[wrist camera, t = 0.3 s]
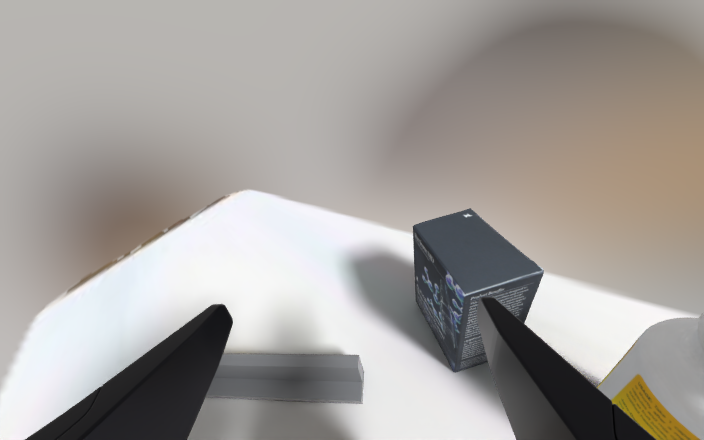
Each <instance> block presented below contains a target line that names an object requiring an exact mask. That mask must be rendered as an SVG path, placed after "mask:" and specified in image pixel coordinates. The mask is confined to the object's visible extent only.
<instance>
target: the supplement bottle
mask: <svg viewBox="0 0 704 440" xmlns="http://www.w3.org/2000/svg"><path fill="white" fill-rule="evenodd" d="M597 388H598V389H599V390H600V391H601V392H602V393H603V394H604V395H606V396H607V397H608V398H609V399H610V400H611V401H612V404H616V405H617V406H618V407H619V408H621V409H622V410H623V411H624V412H625V413H626V414H627V415H629V416H630V417H631V418H632V419H633V420H634V421H635V422H637V423H638V424H639V425H640V426H641V427H643V428H644V429H645V430H646V431H647V432H648V433H650V434H651V435H652V436H653V437H654V438H655V439H657V440H704V313H703V314H702V315H701V316H700V317H699V318H676V319H670V320H666V321H662V322H659V323H657V324H655V325H653V326H651V327H649V328H648V329H647V330H646V331H645V332H644V333H643V334H642V335H641V336H640V337H639V338H638V339H637V341H636V342H635V343H634V344H633V346H632V347H631V348H630V349H629V350H628V352H627V353H626V354H625V355H624V356H623V358H622V359H621V360H620V361H619V362H618V363H617V365H616V366H615V367H614V368H613V369H612V370H611V372H610V373H609V374H608V375H607V376H606V377H605V378H604V380H603V381H602V382H601V383H600V384H599V385H598V387H597Z"/></svg>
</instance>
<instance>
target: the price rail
mask: <svg viewBox="0 0 704 440" xmlns="http://www.w3.org/2000/svg"><path fill="white" fill-rule="evenodd" d="M363 379H364V371H363V368H362V364H361V361H360V357H359V355H306V354H223V355H222V358H221V361H220V364H219V366H218V369H217V371H216V374H215V376H214V378H213V381H212V383H211V385H210V388H209V390H208V392H207V394H206V397H215V398H239V399H262V400H286V401H309V402H333V403H356V404H362V399H363Z"/></svg>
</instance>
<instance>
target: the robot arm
mask: <svg viewBox="0 0 704 440" xmlns="http://www.w3.org/2000/svg"><path fill="white" fill-rule="evenodd" d="M477 321H478V325H479V329H480V333H481V337H482V341H483V345H484V348H485V352H486V356H487V360H488V364H489V367H490V371H491V374H492V376H493V379H494V382H495V385H496V387H497V390H498V392H499V395H500V398H501V400H502V403H503V406H504V408H505V411H506V414H507V416H508V419H509V421H510V424H511V427H512V429H513V432H514V435H515V437H516V440H657V439H655V438H654V437H653V436H652V435H651V434H650V433H648V432H647V431H646V430H645V429H644V428H643V427H641V426H640V425H639V424H638V423H637V422H635V421H634V420H633V419H632V418H631V417H630V416H629V415H627V414H626V413H625V412H624V411H623V410H622V409H621V408H619V407H618V406H617V405H616V404H612V401H611V400H610V399H609V398H608V397H607V396H606V395H604V394H603V393H602V392H601V391H600V390H599V389H598V388H597V387H595V386H594V385H593V384H592V383H591V382H590V381H589V380H587V379H586V378H585V377H584V376H583V375H582V374H581V373H579V372H578V371H577V370H576V369H575V368H574V367H573V366H572V365H570V364H569V363H568V362H567V361H566V360H565V359H564V358H562V357H561V356H560V355H559V354H558V353H557V352H556V351H554V350H553V349H552V348H551V347H550V346H549V345H548V344H546V343H545V342H544V341H543V340H542V339H541V338H540V337H539V336H537V335H536V334H535V333H534V332H533V331H532V330H531V329H529V328H528V327H527V326H526V325H525V324H524V323H523V322H521V321H520V320H519V319H518V318H517V317H516V316H515V315H513V314H512V313H511V312H510V311H509V310H508V309H507V308H506V307H504V306H503V305H502V304H501V303H500V302H499V301H498V300H496V299H495V298H493V297H481V298H480V299H479V302H478V309H477ZM232 324H233V320H232V317H231V315H230V313H229V312H228V310H227V308H226V306H225V305H223V304H214V305H211V306H210V307H208V308H207V309H206V310H204V311H203V312H202V313H200V314H199V315H198V316H196V317H195V318H194V319H192V320H191V321H189V322H188V323H187V324H185V325H184V326H183V327H181V328H180V329H179V330H177V331H176V332H174V333H173V334H172V335H170V336H169V337H168V338H166V339H165V340H164V341H162V342H161V343H159V344H158V345H157V346H155V347H154V348H153V349H151V350H150V351H149V352H147V353H146V354H144V355H143V356H142V357H140V358H139V359H138V360H136V361H135V362H134V363H132V364H131V365H129V366H128V367H127V368H125V369H124V370H123V371H121V372H120V373H119V374H117V375H116V376H114V377H113V378H112V379H110V380H109V381H108V382H106V383H105V384H104V385H103V386H102V387H99V388H98V389H97V390H95V391H94V392H93V393H91V394H90V395H89V396H87V397H86V398H84V399H83V400H82V401H80V402H79V403H77V404H76V405H75V406H73V407H72V408H70V409H69V410H68V411H66V412H65V413H63V414H62V415H61V416H59V417H58V418H56V419H55V420H53V421H52V422H50V423H49V424H47V425H46V426H44V427H43V428H42V429H40V430H39V431H37V432H36V433H34V434H33V435H31V436H30V437H28V438H27V439H25V440H187V438H188V436H189V434H190V431H191V429H192V427H193V424H194V422H195V420H196V418H197V415H198V413H199V411H200V408H201V406H202V404H203V401H204V399H205V397H206V394H207V392H208V390H209V388H210V385H211V383H212V381H213V378H214V376H215V374H216V371H217V369H218V366H219V364H220V361H221V358H222V355H223V352H224V349H225V346H226V343H227V340H228V337H229V334H230V331H231V328H232Z"/></svg>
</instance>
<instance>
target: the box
mask: <svg viewBox="0 0 704 440" xmlns="http://www.w3.org/2000/svg"><path fill="white" fill-rule="evenodd" d="M413 239H414V266H415V290H416V302H417V303H418V305H419V307H420V309H421V311H422V313H423V315H424V316H425V318H426V320H427V322H428V324H429V326H430V328H431V329H432V331H433V333H434V335H435V337H436V339H437V341H438V343H439V344H440V346H441V348H442V350H443V352H444V355H445V356H446V358H447V360H448V362H449V364H450V366H451V368H452V370H453V371H454V372H458V371H461V370H464V369H467V368H470V367H473V366H476V365H479V364H482V363H485V362H488V360H487V356H486V352H485V348H484V345H483V341H482V337H481V333H480V329H479V325H478V321H477V309H478V302H479V299H480V298H481V297H493V298H495V299H496V300H498V301H499V302H500V303H501V304H502V305H503V306H504V307H506V308H507V309H508V310H509V311H510V312H511V313H512V314H513V315H515V316H516V317H517V318H518V319H519V320H520V321H521V322H523V323H525V320H526V317H527V315H528V312H529V309H530V307H531V304H532V301H533V299H534V296H535V294H536V292H537V289H538V287H539V284H540V281H541V278H542V276H543V273H544V270H543V268H541V267H540V266H538V265H537V264H536V263H535V262H534V261H532V260H530V259H529V258H528V257H527V256H525V255H524V254H523V253H522V252H520V251H519V250H518V249H517V248H516V247H515V246H513V245H512V244H511V243H510V242H508V241H507V240H506V239H505V238H504V237H503V236H501V235H500V234H499V233H498V232H497V231H496V230H494V229H493V228H492V227H491V226H490V225H488V224H487V223H486V222H485V221H484V220H483V219H482V218H480V217H479V216H478V215H477V214H476V213H475V212H474V211H473V210H471V209H467V210H464V211H461V212H457V213H454V214H450V215H446V216H442V217H439V218H436V219H432V220H429V221H425V222H422V223H419V224H416V225H414V226H413Z"/></svg>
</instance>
